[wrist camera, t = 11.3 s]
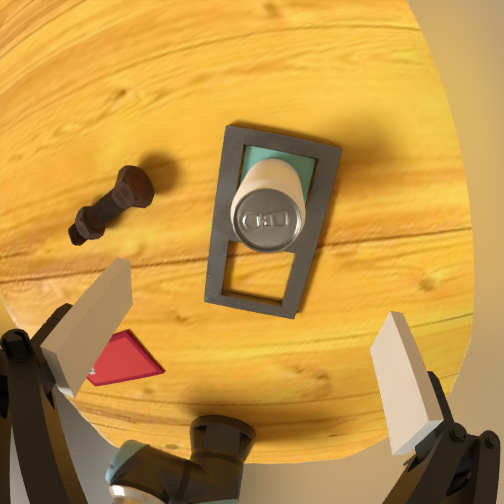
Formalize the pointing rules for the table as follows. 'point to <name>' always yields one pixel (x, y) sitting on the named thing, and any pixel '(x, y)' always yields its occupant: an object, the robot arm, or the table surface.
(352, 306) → the table surface
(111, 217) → the bolt
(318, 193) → the grey flat frame
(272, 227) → the can
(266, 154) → the pad
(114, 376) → the red board with handle
